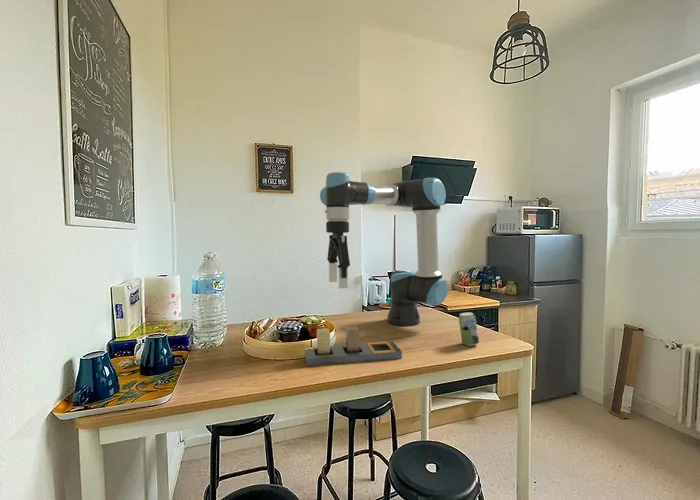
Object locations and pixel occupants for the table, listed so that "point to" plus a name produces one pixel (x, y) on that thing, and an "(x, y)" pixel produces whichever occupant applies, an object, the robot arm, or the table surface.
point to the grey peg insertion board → (354, 354)
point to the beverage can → (468, 329)
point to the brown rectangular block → (352, 340)
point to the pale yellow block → (323, 342)
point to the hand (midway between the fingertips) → (337, 284)
